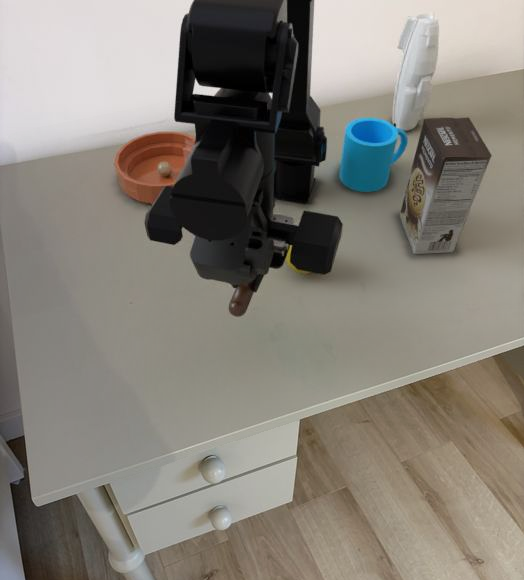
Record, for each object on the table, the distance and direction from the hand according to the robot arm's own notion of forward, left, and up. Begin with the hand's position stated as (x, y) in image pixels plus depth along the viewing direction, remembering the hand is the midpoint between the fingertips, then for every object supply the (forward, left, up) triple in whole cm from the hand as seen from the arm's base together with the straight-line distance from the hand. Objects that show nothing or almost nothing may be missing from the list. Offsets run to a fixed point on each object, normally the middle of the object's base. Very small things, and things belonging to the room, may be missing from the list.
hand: (245, 287), depth 59 cm
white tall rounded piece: (-13, -58, -11) cm, 60 cm away
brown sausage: (0, 0, -1) cm, 1 cm away
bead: (+23, -30, -9) cm, 39 cm away
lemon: (-4, -15, -11) cm, 19 cm away
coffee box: (-20, -28, -11) cm, 36 cm away
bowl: (+23, -30, -11) cm, 39 cm away
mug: (-10, -41, -11) cm, 43 cm away
